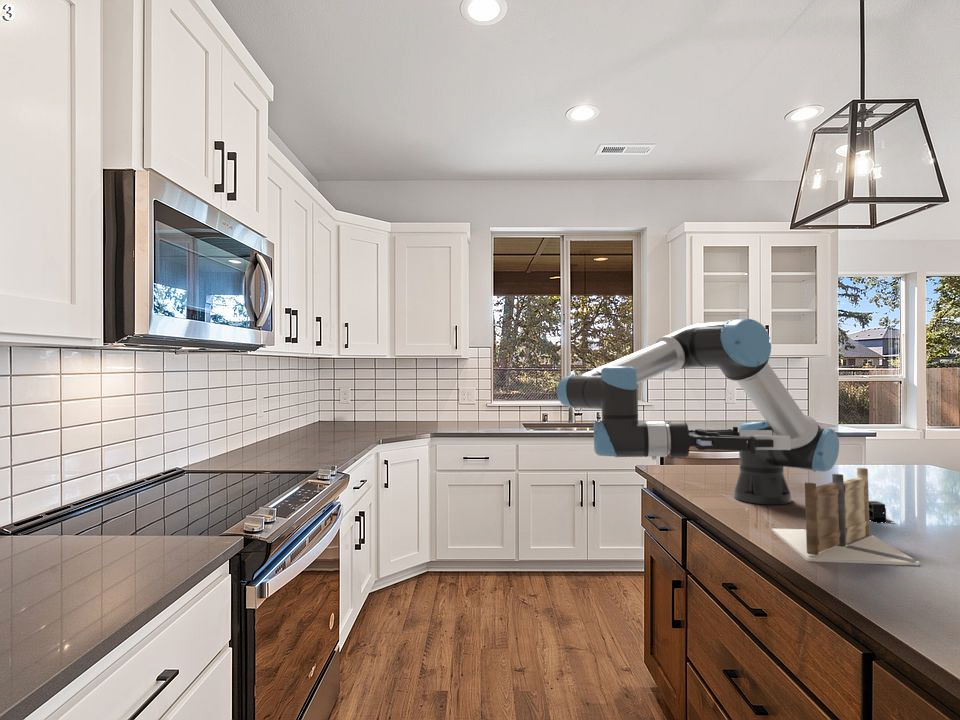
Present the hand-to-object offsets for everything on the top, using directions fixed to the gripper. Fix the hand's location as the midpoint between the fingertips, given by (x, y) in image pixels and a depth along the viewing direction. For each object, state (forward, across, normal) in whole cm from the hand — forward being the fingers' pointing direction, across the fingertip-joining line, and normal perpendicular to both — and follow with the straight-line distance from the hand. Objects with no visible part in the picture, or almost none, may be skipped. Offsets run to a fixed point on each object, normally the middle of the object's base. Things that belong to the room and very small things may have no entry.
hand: (780, 439), depth 117 cm
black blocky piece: (+33, -35, -25) cm, 54 cm away
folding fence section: (+9, -3, -23) cm, 25 cm away
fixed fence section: (+18, -12, -23) cm, 32 cm away
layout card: (+14, -9, -24) cm, 29 cm away
